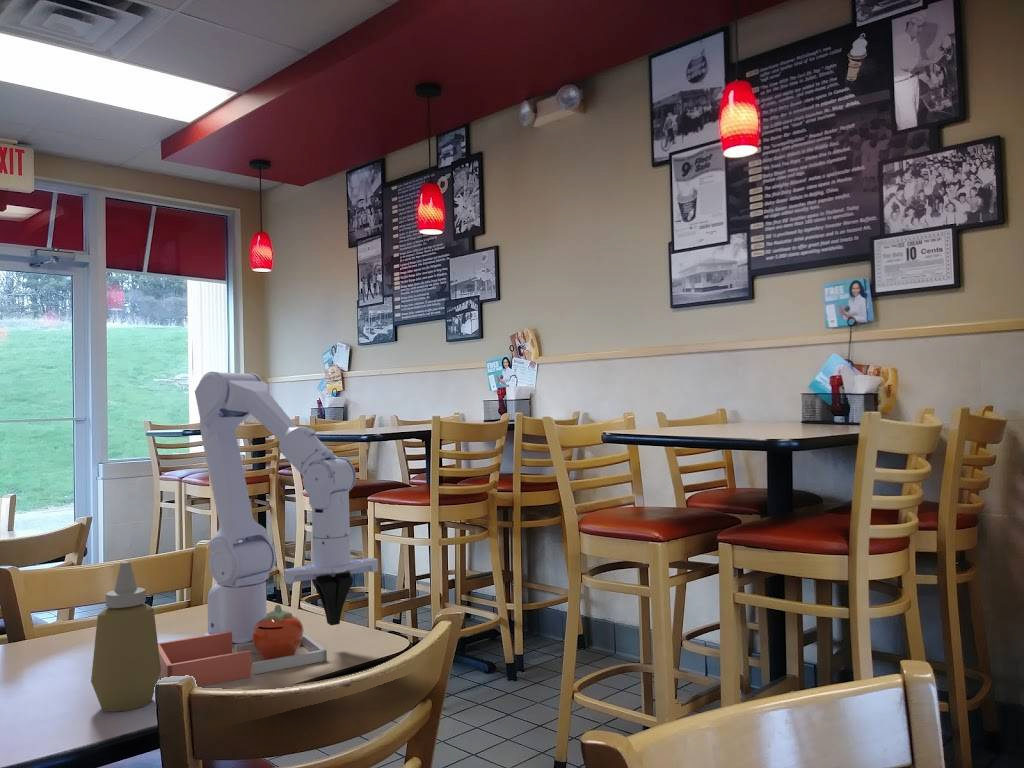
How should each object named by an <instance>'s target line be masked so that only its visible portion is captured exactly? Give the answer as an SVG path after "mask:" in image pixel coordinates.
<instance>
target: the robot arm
mask: <svg viewBox="0 0 1024 768" xmlns="http://www.w3.org/2000/svg"><path fill="white" fill-rule="evenodd" d="M269 391H270V387H269V385H268V383H266V382H265V381H263V379H262V378H261V376H260V375H258V374H256V373H254V372H247V373H239V372H238V373H237V372H220V371H219V372H218V371H208V372H207V373H205V374H204V375H203V376H202V377H201V379H200V380H199V382H198V385H197V386H196V388H195V390H194V394H195V400H196V404H197V405H196V406H197V410H198V415H199V430H200V435H201V440H202V445H203V449H204V454H205V460H206V464H207V469H208V474H209V479H210V485H211V488H212V494H213V500H214V504H215V509H216V514H217V520H218V523H219V529H218V530H217V531H216V533H215V534H214V535H213V537H212V538H211V539H210V540H209V542H208V545H209V561H208V562H209V563H208V566H209V572H210V575H211V576H212V578H213V579H214V581H216V583H214V584H213V585H212V587H211V588H210V590H209V592H208V595H207V601H206V602H207V633H204V634H203V636H206V635H212V634H218V633H224V632H230V631H231V632H232V643H233V644H234V643H236V644H238V645H239V644H245V643H250V642H253V629H254V627H255V625H256V624H257V623H258V622H259V621H260V620H261V619H263V618H265V617H266V616H267V613H268V612H267V609H268V608H267V606H268V605H267V579H270V573H271V572H272V571H273V569H274V568H275V565H276V562H277V552H276V550H275V547H274V544H273V543H272V542H271V540H270V538H269V535H268V530H267V529H266V528H265V527H264V526H263V525H261V524H260V523H258V522H257V521H256V520H255V519H254V514H253V511H252V505H251V500H250V496H249V491H248V487H247V481H246V476H245V472H244V467H243V462H242V458H241V453H240V448H239V444H238V438H237V433H236V431H237V429H238V427H239V426H240V425H241V424H242V423H243V422H244V421H245V420H246V419H247V418H249V417H250V415H251V416H252V417H253V418H255V419H256V420H257V421H258V422H259V423H260V424H261V425H262V426H263V427H265V428H266V429H267V430H268V431H269V432H270V433H271V434H272V435H273V436H274V438H277V439H278V441H279V444H278V445H279V452H280V454H282V455H283V456H284V457H285V458H286V460H288V462H289V463H290V464H291V465H292V466H293V468H295V469H296V471H298V472H299V474H300V475H301V476H302V477H303V478H302V485H303V488H304V491H305V492H306V493H307V496H308V504H309V505H310V508H311V527H312V531H311V532H312V535H311V536H312V563H311V564H305V565H301V566H296V567H292V568H290V567H289V568H284V569H283V582H284V583H286V584H288V585H289V584H290V585H291V584H294V583H296V582H304V581H310V580H311V583H312V585H313V587H314V588H315V590H316V591H317V594H318V596H319V598H320V601H321V604H322V607H323V610H324V614H325V618H326V622H327V624H328V625H330V626H335V625H336V626H337V625H340V623H341V618H342V617H341V616H342V613H343V608H344V604H345V602H346V598H347V596H348V593H350V590H351V588H352V585H353V583H354V577H352V576H351V575H356V574H361V573H369V572H370V573H375V572H379V560H378V558H375V557H367V558H356V559H354V558H353V559H351V538H350V537H351V536H350V535H351V530H350V529H351V527H350V525H351V524H350V493H349V492H350V491H351V490H352V489H353V488H354V486H355V484H356V480H357V473H356V469H355V466H354V465H353V463H352V462H351V461H350V459H349V458H347V457H343V456H338V455H336V454H334V451H333V450H332V449H331V448H328V447H327V446H326V445H325V444H324V443H323V442H322V441H321V440H320V439H319V438H318V437H317V436H316V434H317V432H316V431H315V430H314V429H313V428H312V427H310V428H309V427H308V426H303V425H302V426H297V425H296V424H295V422H294V421H293V420H292V419H291V418H290V417H289V416H288V414H287V413H286V412H285V411H284V409H283V408H282V407H281V406H280V405H279V403H278V402H277V401H276V400H275V398H274V397H273V396H272V395H271V393H270V392H269ZM237 541H240V542H237ZM235 542H237V543H235Z"/></svg>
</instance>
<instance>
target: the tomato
mask: <svg viewBox="0 0 1024 768" xmlns="http://www.w3.org/2000/svg"><path fill="white" fill-rule="evenodd" d="M303 634H304V626H303V623H302V621H301V620H300V619H299V618H298V617H296V616H294V615H293V613H292V612H290V611H287V610H283V609H282V606H281V605H280V604H275V606H274V610H272V611H269V612H267V616H266V617H265V618H263V619H261V620H260V621H259V622H258V623H257V624H256V625H255V627H254V629H253V640H252V642H254V645H255V647H256V650H257V651H258V652H257V653H258V655H259V657H261V658H262V659H263V660H270V659H275V658H280V657H286V656H291V655H296V654H297V652H298V650H299V648H300V646H301V645H300V644H301V641H302V638H303Z"/></svg>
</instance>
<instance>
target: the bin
mask: <svg viewBox="0 0 1024 768" xmlns="http://www.w3.org/2000/svg"><path fill="white" fill-rule="evenodd" d="M158 648H159V657H160V665H161V672H160V675H159V679H160V680H161V678H164V677H170V676H185V675H189V676H193V677H194V678H195V680H196V684H197V686H199V687H205V686H209V685H214V684H219V683H225V682H231V681H235V680H241V679H247V678H251V677H252V653H251V651H250V650H248V651H243V652H237V653H236V652H233V642H232V632H231V631H230V632H224V633H218V634H212V635H206V636H204V635H200V636H194V637H188V638H187V637H186V638H182V639H176V640H170V641H164V642H158Z"/></svg>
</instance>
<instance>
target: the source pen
mask: <svg viewBox="0 0 1024 768" xmlns="http://www.w3.org/2000/svg"><path fill="white" fill-rule="evenodd" d="M301 645H302V646H303V647H304V648H306V650H308V652H304V653H303V652H302V653H298V654H297V653H296V654H294V655H291V656H286V657H280V658H275V659H270V660H265V659H263V660H260V661H259V660H258V661H254V662H251V674H252V675H257V674H263V673H268V672H274V671H279V670H284V669H289V668H294V667H301V666H305V665H310V664H315V663H321V662H325V661H327V659H328V656H327V655H328V654H327V649H325V648H324V647H323V646H322V645H320V644H319V643H318V642H317V641H315V640H313V639H312V638H311V637H310V636H309V635H307V634H305V633H303V638H302V641H301V644H300V646H301ZM248 650H250V651H251V654H255V653H258V651H257V650H256V647H255V645H254V642H253V641H250V642H246V643H243V644H239V643H238V644H235V653H237V652H243V651H248Z"/></svg>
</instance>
